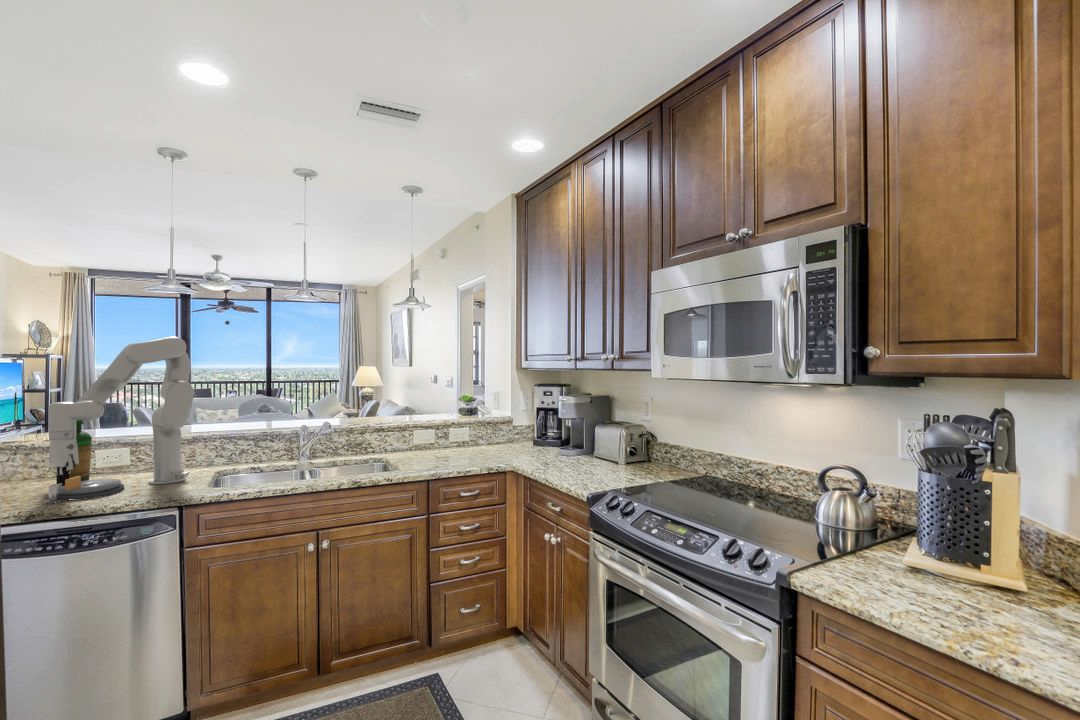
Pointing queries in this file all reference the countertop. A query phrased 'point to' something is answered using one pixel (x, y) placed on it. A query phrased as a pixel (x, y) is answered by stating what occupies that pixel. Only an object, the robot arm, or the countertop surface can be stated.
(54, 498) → the capsule on square base
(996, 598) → the countertop surface
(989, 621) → the countertop surface
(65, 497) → the turntable base
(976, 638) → the countertop surface
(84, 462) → the bottle
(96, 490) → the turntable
